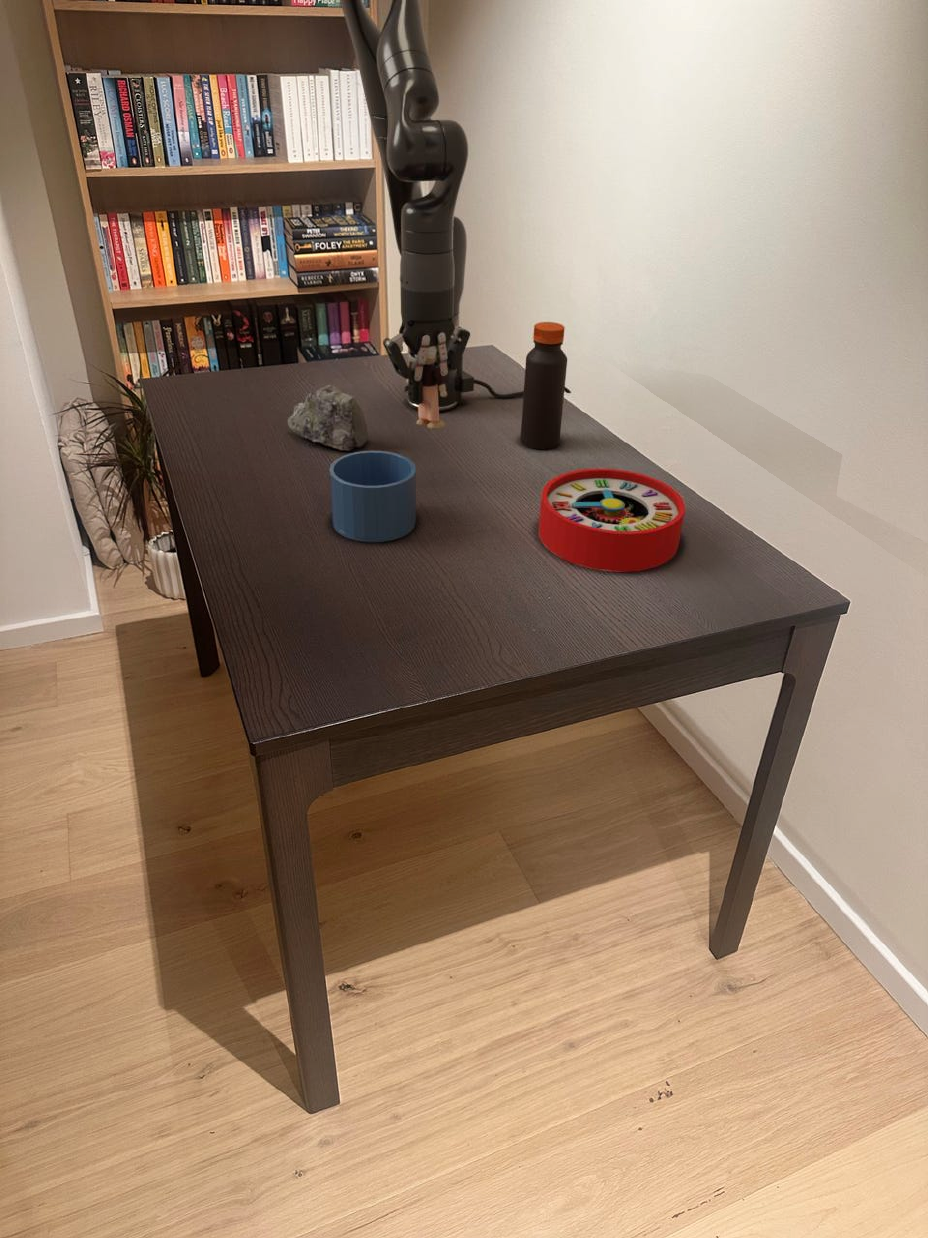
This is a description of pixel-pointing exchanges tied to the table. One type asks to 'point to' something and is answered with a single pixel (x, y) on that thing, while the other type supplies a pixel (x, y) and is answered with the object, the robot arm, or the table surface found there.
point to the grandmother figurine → (431, 392)
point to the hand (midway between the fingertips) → (427, 400)
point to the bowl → (373, 496)
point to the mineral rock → (330, 419)
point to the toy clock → (611, 519)
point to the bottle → (544, 387)
